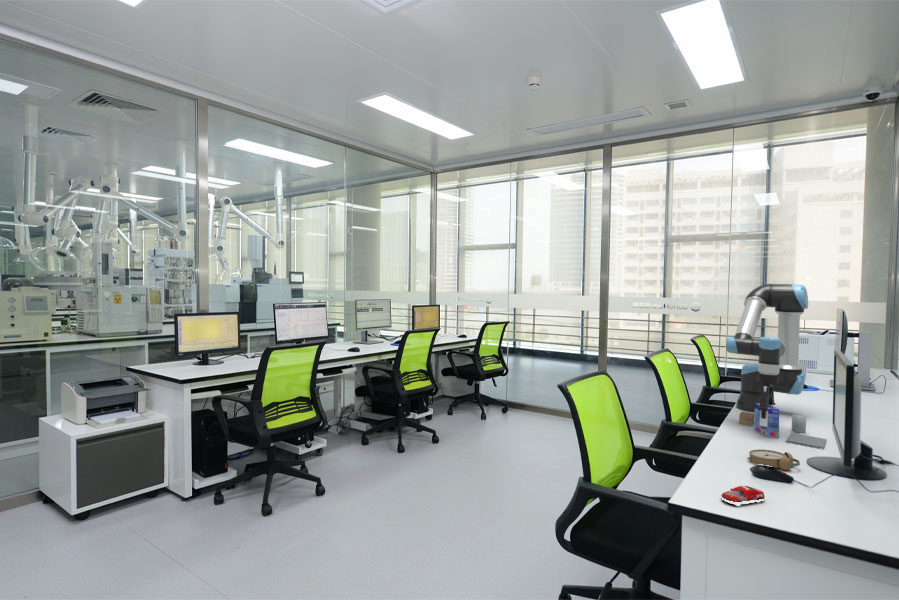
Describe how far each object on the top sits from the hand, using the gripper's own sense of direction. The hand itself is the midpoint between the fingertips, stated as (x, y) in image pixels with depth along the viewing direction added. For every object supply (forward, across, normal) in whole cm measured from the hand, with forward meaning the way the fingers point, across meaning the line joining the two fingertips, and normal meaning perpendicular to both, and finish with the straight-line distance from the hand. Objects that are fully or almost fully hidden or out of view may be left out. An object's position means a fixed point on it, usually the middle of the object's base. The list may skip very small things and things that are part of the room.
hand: (766, 422), depth 204 cm
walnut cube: (+5, -11, -9) cm, 15 cm away
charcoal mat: (+5, 0, +14) cm, 15 cm away
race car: (+6, +81, +6) cm, 81 cm away
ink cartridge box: (+5, 0, 0) cm, 5 cm away
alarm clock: (+6, +40, +8) cm, 41 cm away
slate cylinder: (+5, -14, +10) cm, 18 cm away
